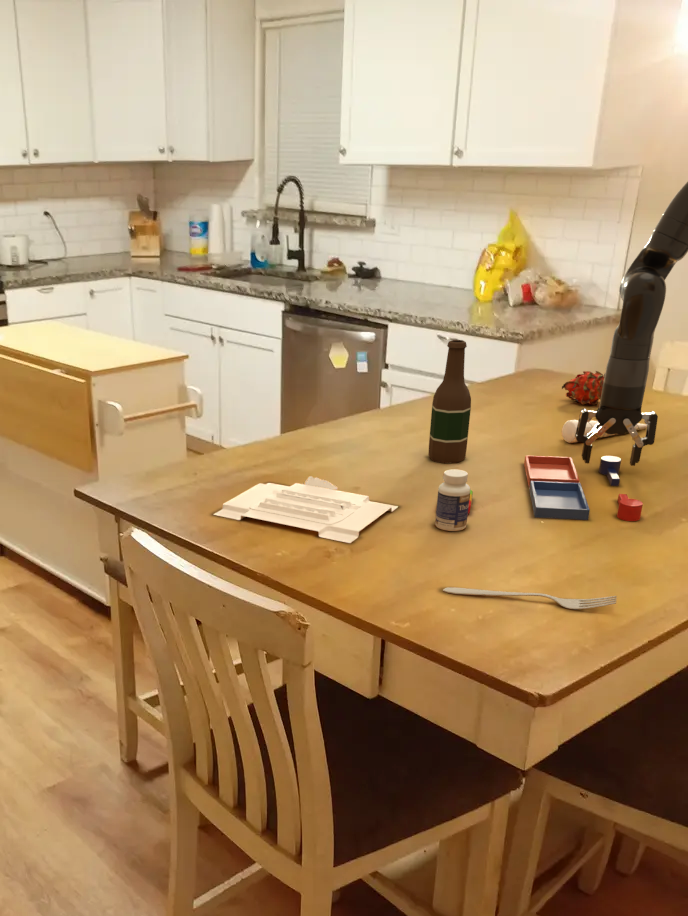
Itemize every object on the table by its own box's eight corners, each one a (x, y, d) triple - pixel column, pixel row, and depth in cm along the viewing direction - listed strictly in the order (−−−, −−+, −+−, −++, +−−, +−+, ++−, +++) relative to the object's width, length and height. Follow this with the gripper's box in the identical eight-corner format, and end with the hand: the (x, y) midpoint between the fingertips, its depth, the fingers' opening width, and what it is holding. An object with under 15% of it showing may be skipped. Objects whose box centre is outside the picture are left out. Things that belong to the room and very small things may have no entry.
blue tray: (579, 492, 179) (580, 482, 178) (588, 520, 167) (589, 510, 166) (529, 490, 181) (530, 480, 180) (534, 517, 168) (536, 507, 168)
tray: (351, 543, 160) (351, 522, 159) (212, 520, 175) (211, 501, 173) (399, 506, 175) (399, 487, 174) (268, 487, 190) (267, 469, 188)
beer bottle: (463, 465, 195) (475, 345, 184) (424, 462, 198) (434, 344, 186) (467, 454, 201) (479, 337, 190) (430, 451, 204) (440, 336, 193)
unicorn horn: (662, 432, 211) (666, 410, 209) (572, 445, 204) (576, 423, 202) (647, 427, 215) (651, 405, 213) (558, 440, 208) (562, 418, 206)
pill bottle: (461, 534, 163) (467, 479, 158) (430, 529, 165) (435, 475, 160) (470, 523, 167) (476, 470, 162) (440, 518, 169) (445, 466, 165)
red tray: (570, 466, 193) (571, 457, 192) (578, 489, 180) (579, 480, 179) (524, 464, 195) (525, 455, 194) (528, 487, 182) (529, 478, 181)
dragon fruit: (612, 413, 231) (561, 414, 238) (618, 386, 235) (567, 388, 241) (609, 389, 225) (556, 391, 231) (615, 362, 228) (563, 365, 234)
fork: (444, 585, 145) (445, 575, 144) (614, 605, 137) (616, 594, 136) (441, 594, 142) (442, 583, 141) (615, 615, 135) (617, 603, 134)
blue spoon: (597, 468, 191) (599, 455, 189) (617, 469, 190) (620, 456, 188) (604, 485, 182) (606, 471, 181) (625, 486, 181) (628, 472, 180)
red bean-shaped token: (641, 521, 165) (644, 506, 164) (618, 520, 166) (621, 505, 165) (632, 501, 174) (635, 487, 173) (610, 500, 175) (613, 486, 173)
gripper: (588, 384, 178) (573, 467, 186) (669, 386, 175) (651, 471, 183) (583, 375, 184) (569, 456, 192) (661, 377, 182) (644, 459, 189)
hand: (609, 463), depth 187 cm, fingers open, 8 cm apart
